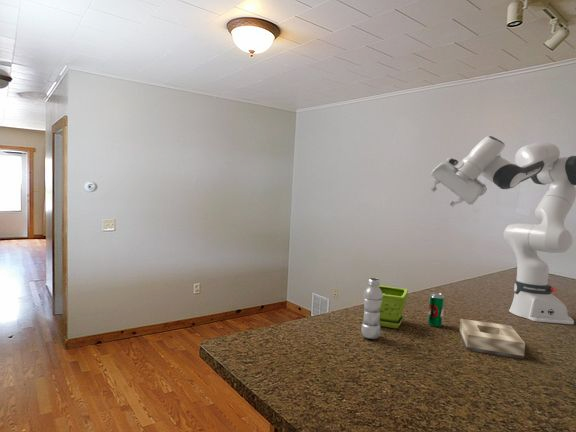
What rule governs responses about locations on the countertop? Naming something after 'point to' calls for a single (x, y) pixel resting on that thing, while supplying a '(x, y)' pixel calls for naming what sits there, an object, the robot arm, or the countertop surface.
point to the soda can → (436, 309)
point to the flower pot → (392, 306)
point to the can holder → (491, 338)
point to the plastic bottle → (372, 310)
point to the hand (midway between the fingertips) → (441, 198)
